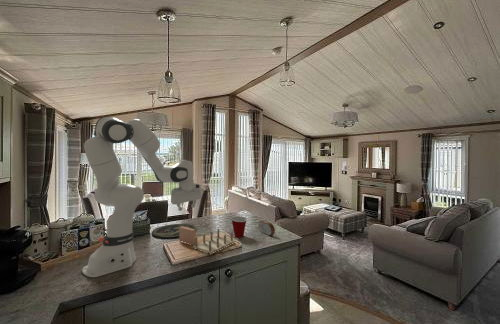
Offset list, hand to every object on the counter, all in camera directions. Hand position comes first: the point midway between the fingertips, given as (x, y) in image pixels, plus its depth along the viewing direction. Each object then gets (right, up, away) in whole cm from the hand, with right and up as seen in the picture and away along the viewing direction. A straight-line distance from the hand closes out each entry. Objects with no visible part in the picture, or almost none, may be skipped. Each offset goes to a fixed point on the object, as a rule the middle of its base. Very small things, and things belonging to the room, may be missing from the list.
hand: (187, 208), depth 139 cm
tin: (+49, -20, +15) cm, 56 cm away
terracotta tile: (0, -21, 0) cm, 21 cm away
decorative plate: (-15, -21, +22) cm, 34 cm away
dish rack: (+18, -21, -5) cm, 28 cm away
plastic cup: (+31, -21, +11) cm, 39 cm away
